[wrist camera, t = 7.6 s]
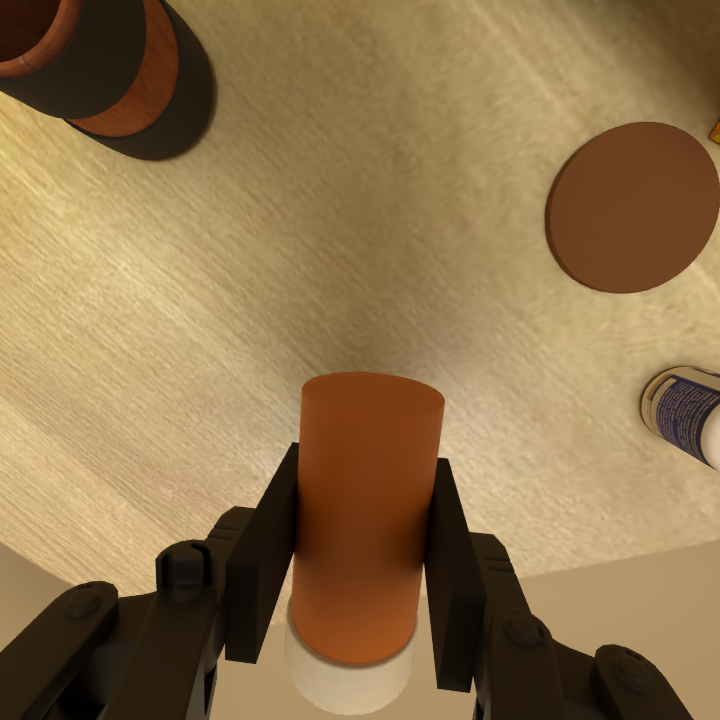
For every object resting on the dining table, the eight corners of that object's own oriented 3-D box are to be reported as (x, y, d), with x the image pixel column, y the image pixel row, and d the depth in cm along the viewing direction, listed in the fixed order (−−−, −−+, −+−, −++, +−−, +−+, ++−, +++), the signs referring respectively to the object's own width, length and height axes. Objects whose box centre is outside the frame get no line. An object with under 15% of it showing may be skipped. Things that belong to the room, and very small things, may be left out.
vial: (344, 364, 16) (264, 393, 12) (464, 389, 14) (415, 434, 10) (328, 583, 18) (256, 668, 14) (429, 632, 16) (378, 748, 12)
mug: (181, -70, 24) (3, -367, 13) (233, 147, 27) (120, 56, 15) (49, -30, 25) (-227, -276, 14) (110, 176, 28) (-83, 111, 16)
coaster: (560, 120, 25) (565, 116, 25) (729, 130, 25) (741, 126, 24) (533, 286, 28) (537, 287, 27) (689, 298, 27) (698, 299, 26)
